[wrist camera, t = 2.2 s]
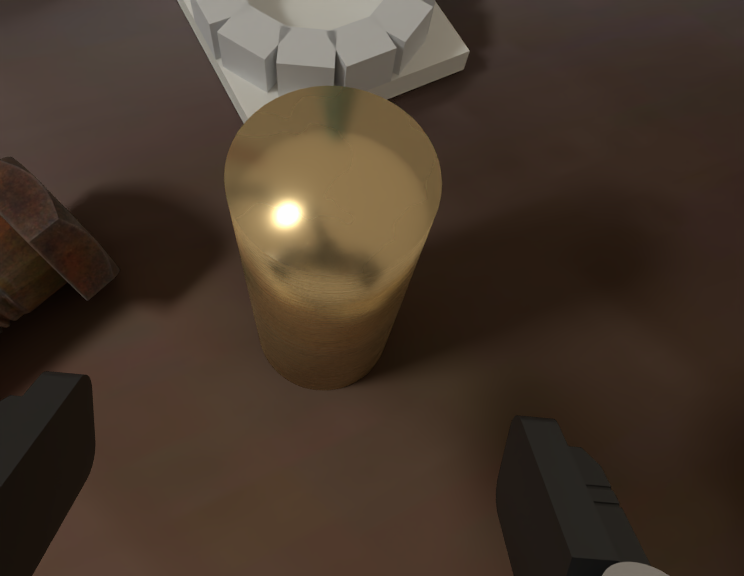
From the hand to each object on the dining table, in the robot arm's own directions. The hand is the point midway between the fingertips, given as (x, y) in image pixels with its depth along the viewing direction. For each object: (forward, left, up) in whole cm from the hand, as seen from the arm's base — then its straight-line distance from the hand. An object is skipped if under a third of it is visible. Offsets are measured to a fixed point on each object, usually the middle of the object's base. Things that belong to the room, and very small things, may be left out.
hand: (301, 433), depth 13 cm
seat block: (+9, +18, -11) cm, 23 cm away
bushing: (+3, +5, -11) cm, 12 cm away
